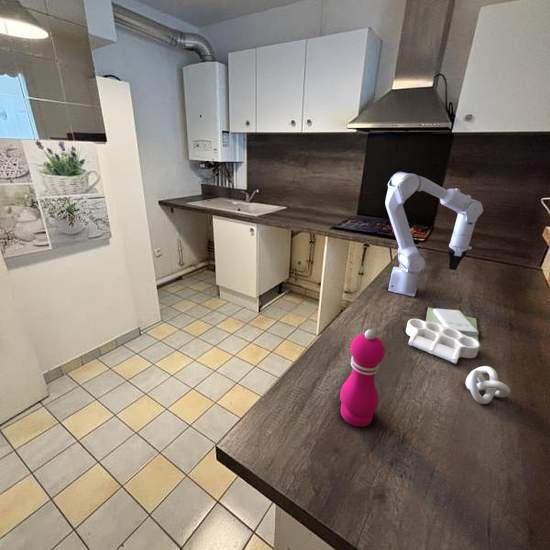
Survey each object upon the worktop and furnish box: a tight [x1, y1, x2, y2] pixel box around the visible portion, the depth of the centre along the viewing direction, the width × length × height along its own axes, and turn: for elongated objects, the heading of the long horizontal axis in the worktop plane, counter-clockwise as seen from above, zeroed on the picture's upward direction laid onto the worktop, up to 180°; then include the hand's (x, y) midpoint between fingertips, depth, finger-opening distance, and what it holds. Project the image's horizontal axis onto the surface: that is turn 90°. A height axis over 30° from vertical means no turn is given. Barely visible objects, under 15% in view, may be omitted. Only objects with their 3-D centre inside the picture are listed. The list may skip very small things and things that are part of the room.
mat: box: [425, 306, 479, 342], centre depth 91 cm, size 14×14×1 cm
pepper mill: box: [339, 329, 386, 428], centre depth 55 cm, size 7×7×20 cm
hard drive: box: [433, 308, 480, 337], centre depth 90 cm, size 2×8×12 cm
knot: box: [465, 365, 511, 405], centre depth 63 cm, size 8×8×6 cm
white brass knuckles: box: [405, 318, 481, 364], centre depth 80 cm, size 3×18×15 cm
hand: (452, 269), depth 109 cm, fingers closed
